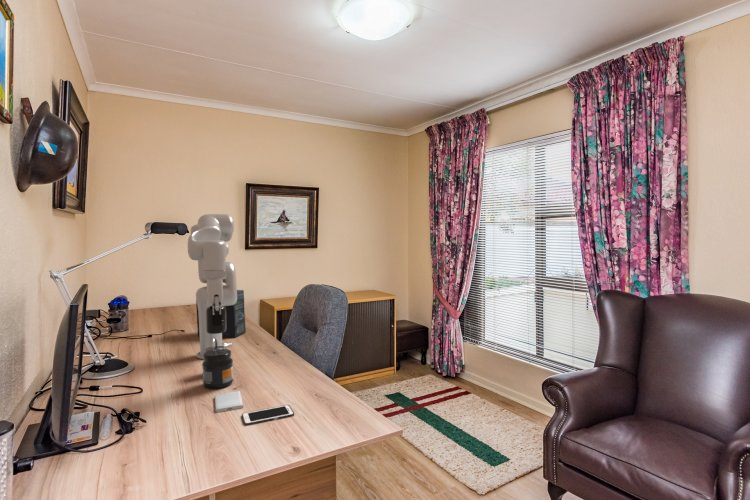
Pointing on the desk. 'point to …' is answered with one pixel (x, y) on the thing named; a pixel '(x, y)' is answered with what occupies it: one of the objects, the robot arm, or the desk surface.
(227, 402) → the hard drive
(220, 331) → the supplement bottle
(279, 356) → the desk surface
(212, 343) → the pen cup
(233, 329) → the headset box
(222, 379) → the supplement container
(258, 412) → the cell phone
